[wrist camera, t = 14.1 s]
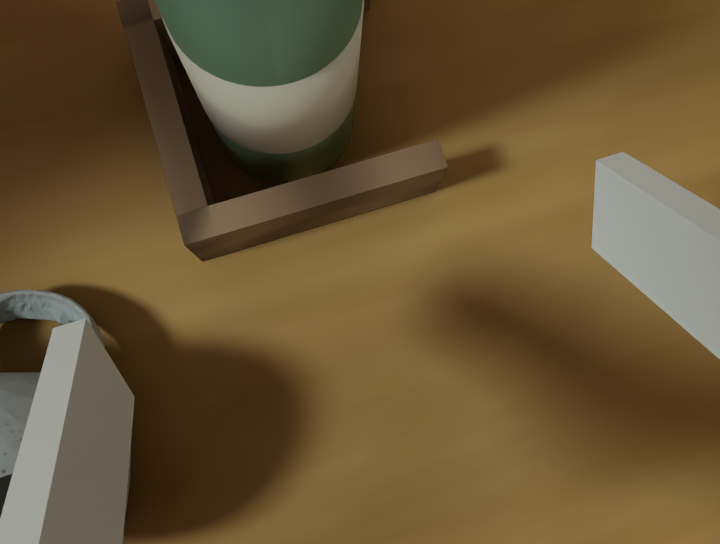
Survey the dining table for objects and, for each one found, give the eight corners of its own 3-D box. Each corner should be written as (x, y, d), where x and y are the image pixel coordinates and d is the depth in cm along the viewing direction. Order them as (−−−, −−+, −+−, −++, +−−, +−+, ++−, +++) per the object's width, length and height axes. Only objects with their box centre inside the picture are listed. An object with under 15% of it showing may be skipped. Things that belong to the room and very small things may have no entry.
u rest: (202, 261, 25) (184, 245, 22) (140, 44, 26) (116, 1, 23) (434, 191, 26) (447, 166, 23) (361, -14, 27) (364, -61, 24)
